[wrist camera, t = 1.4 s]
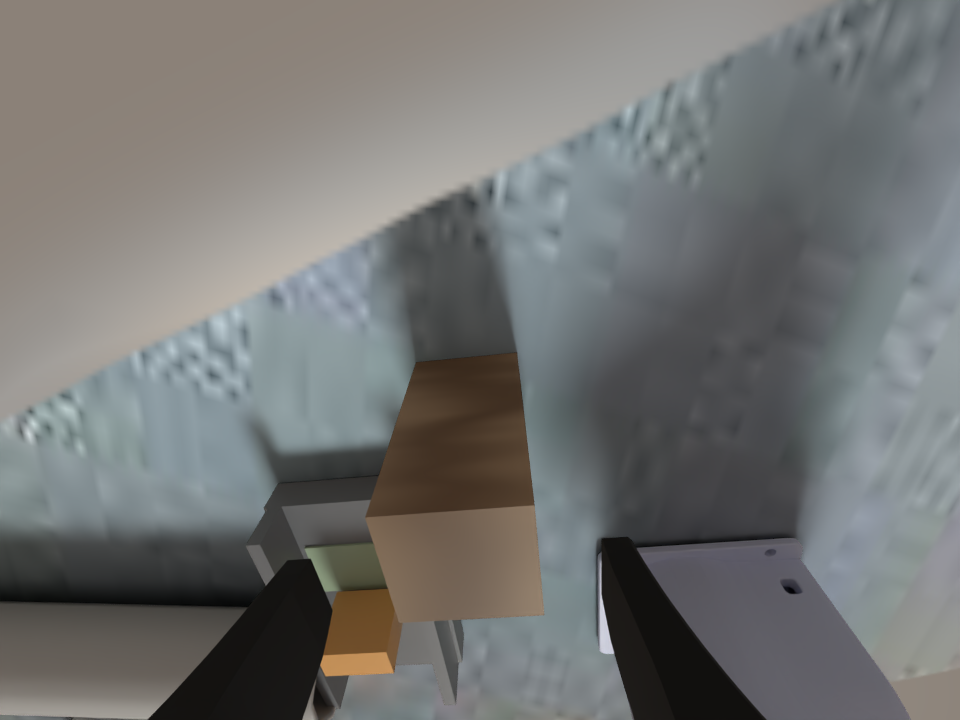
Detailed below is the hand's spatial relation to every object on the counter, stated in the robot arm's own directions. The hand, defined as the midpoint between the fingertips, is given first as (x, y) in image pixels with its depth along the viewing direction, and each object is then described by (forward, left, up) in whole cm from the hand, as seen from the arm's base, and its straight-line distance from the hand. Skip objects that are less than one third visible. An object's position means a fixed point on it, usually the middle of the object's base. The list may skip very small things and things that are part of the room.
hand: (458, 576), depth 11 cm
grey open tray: (+6, +10, -8) cm, 14 cm away
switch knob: (+6, +10, -7) cm, 13 cm away
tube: (+21, +12, -8) cm, 25 cm away
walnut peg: (0, 0, -8) cm, 8 cm away
